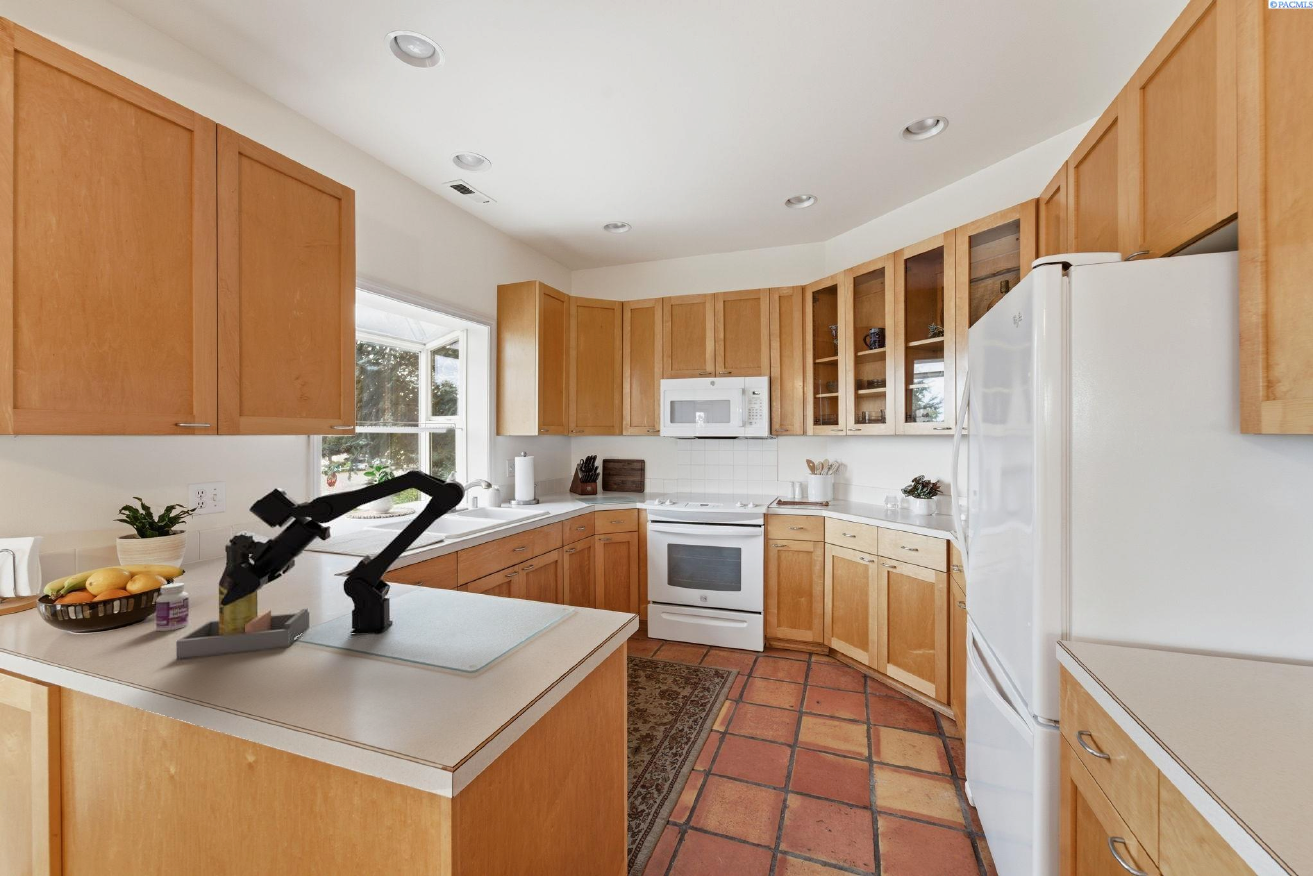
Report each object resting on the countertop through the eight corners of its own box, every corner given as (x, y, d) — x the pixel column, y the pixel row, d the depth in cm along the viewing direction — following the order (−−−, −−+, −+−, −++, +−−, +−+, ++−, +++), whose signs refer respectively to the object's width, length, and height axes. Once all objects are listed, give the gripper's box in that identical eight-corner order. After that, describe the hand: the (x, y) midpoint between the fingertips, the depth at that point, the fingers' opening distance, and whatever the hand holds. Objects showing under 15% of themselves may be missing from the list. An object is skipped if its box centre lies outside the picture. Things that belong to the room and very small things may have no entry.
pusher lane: (309, 627, 116) (309, 607, 116) (288, 647, 104) (288, 625, 104) (210, 637, 111) (210, 616, 111) (176, 659, 99) (176, 636, 99)
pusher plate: (271, 629, 113) (270, 610, 113) (251, 645, 104) (250, 624, 104) (265, 630, 112) (265, 610, 112) (245, 646, 103) (245, 625, 103)
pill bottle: (173, 632, 114) (172, 588, 114) (149, 632, 114) (149, 588, 114) (195, 623, 119) (195, 581, 119) (172, 623, 119) (172, 581, 119)
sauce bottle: (225, 635, 109) (225, 541, 109) (261, 630, 111) (261, 538, 111) (213, 646, 103) (213, 546, 103) (252, 641, 105) (251, 544, 105)
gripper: (277, 511, 117) (220, 564, 114) (237, 524, 99) (168, 587, 96) (318, 543, 119) (263, 596, 116) (285, 561, 102) (219, 624, 98)
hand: (230, 599), depth 107 cm, fingers closed on sauce bottle, 6 cm apart
